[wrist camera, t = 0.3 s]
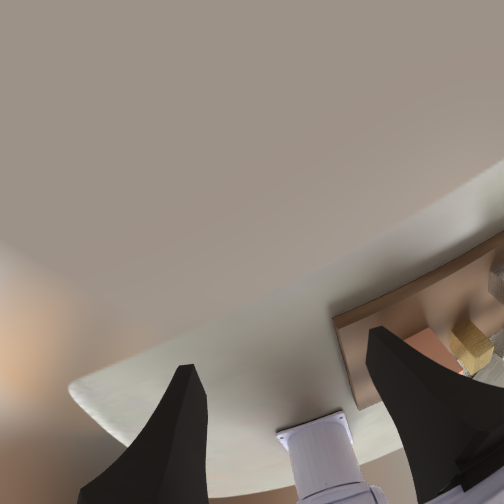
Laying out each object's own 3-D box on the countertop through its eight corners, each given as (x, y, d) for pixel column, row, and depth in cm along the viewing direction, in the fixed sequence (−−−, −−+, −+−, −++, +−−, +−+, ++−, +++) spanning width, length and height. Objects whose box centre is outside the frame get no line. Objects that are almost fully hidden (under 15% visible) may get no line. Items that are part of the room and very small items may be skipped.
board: (498, 319, 27) (504, 326, 26) (354, 400, 28) (358, 410, 27) (508, 227, 22) (518, 232, 20) (332, 318, 23) (338, 329, 22)
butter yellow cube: (467, 336, 25) (490, 362, 21) (449, 347, 25) (471, 375, 21) (469, 319, 24) (494, 345, 20) (451, 331, 24) (475, 359, 20)
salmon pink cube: (427, 363, 25) (454, 403, 20) (380, 387, 26) (403, 432, 20) (428, 326, 23) (463, 369, 18) (376, 353, 24) (404, 403, 18)
